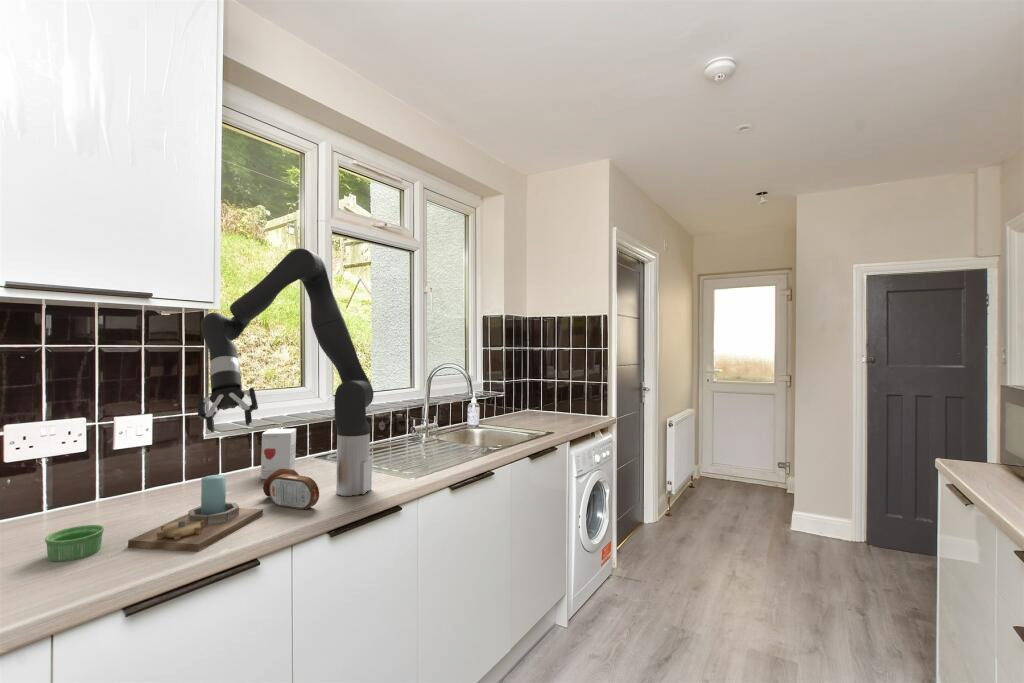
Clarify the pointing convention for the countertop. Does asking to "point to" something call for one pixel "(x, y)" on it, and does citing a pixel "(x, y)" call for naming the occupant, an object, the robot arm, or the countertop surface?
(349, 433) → the robot arm
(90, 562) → the countertop surface
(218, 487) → the light blue cylinder
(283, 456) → the supplement box
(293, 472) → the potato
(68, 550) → the ramekin
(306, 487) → the tin
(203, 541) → the board
